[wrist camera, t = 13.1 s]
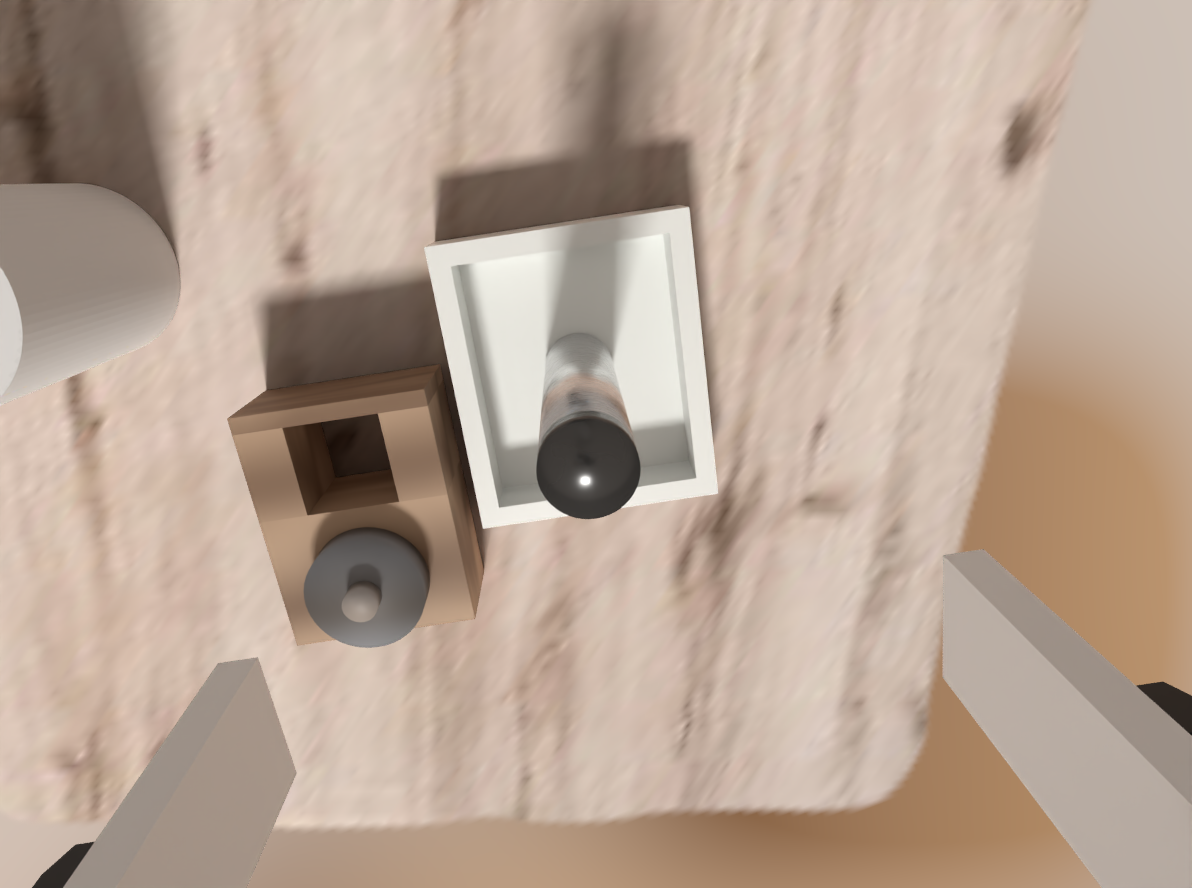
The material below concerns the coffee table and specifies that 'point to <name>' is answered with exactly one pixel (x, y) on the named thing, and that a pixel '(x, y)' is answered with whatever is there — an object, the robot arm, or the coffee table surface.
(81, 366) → the white cylinder
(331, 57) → the coffee table surface
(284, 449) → the block
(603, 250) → the tray
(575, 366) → the pin
